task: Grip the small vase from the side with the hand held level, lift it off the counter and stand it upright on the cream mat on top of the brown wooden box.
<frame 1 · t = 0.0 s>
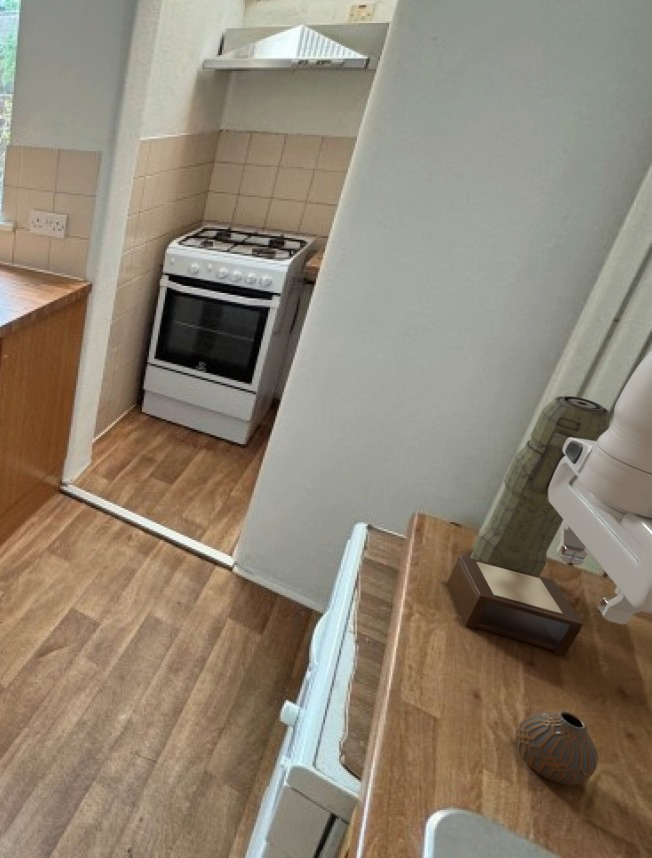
hand: (587, 586, 67), 30 cm above the countertop, tool pointing down, fingers open, 8 cm apart
brown wooden box: (500, 619, 99), on the countertop
carved stone statue: (499, 572, 109), on the countertop
vase: (543, 767, 77), on the countertop
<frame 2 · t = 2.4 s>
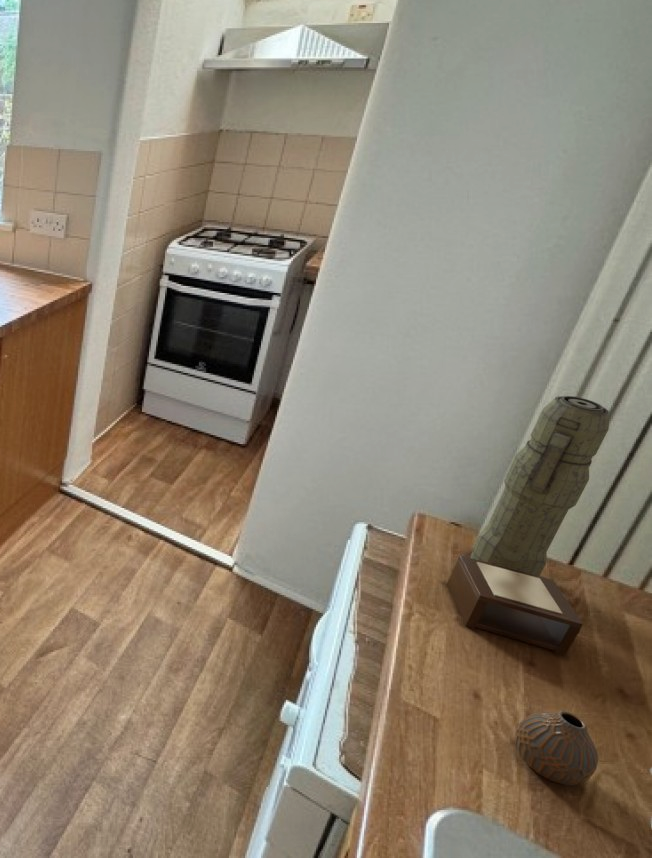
nothing on the countertop moved.
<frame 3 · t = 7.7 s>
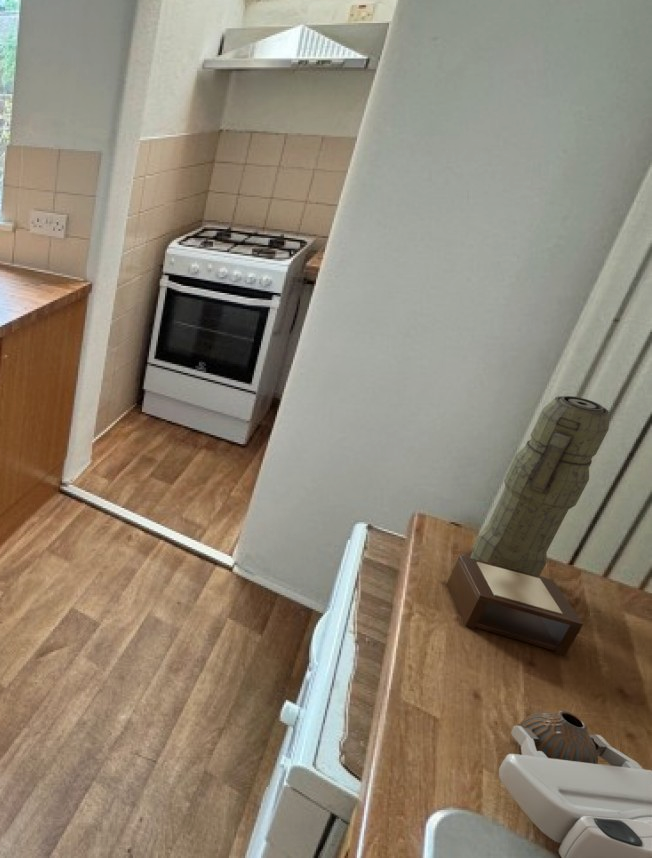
hand: (553, 733, 76), 5 cm above the countertop, tool horizontal, fingers closed on vase, 7 cm apart
vase: (543, 767, 77), on the countertop, touching gripper
everything else where it was.
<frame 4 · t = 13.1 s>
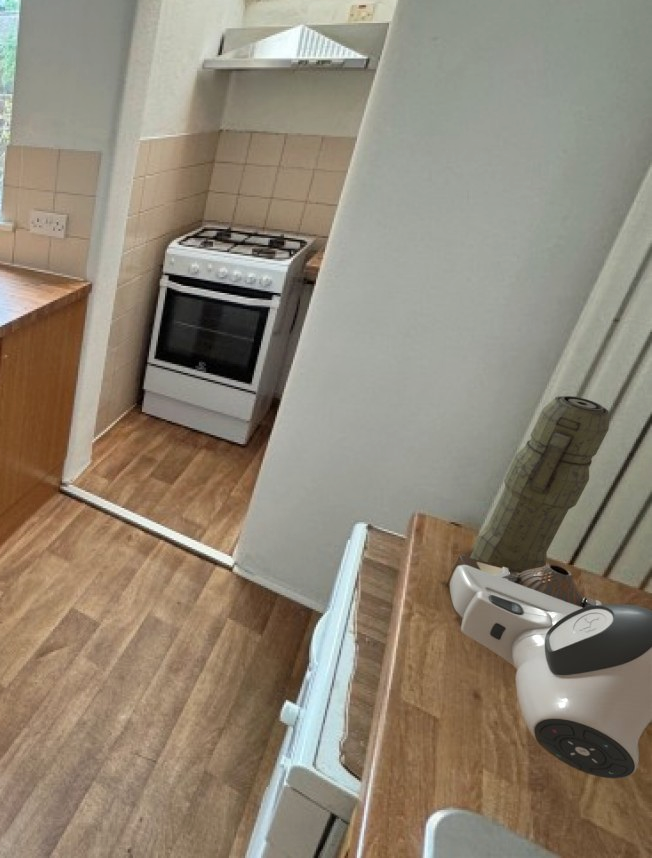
hand: (547, 586, 83), 17 cm above the countertop, tool horizontal, fingers closed on vase, 7 cm apart
vase: (533, 618, 85), point 12 cm above the countertop, touching gripper
everything else where it was.
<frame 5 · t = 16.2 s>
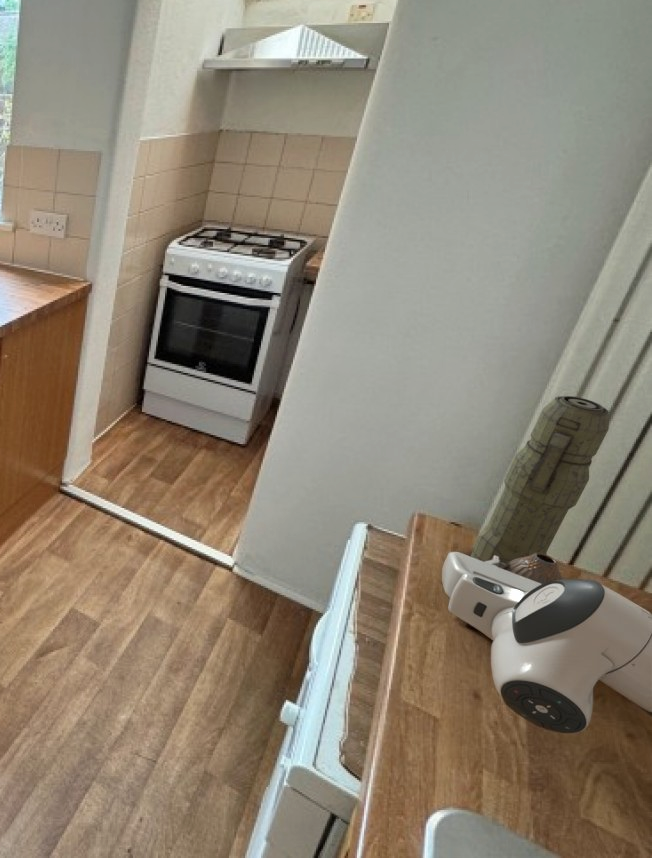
hand: (534, 574, 90), 13 cm above the countertop, tool horizontal, fingers closed on vase, 7 cm apart
vase: (521, 603, 92), point 8 cm above the countertop, touching gripper
everything else where it was.
when the fingers open (12 cm above the countertop, at t = 18.8 s): vase stays where it is, resting on brown wooden box.
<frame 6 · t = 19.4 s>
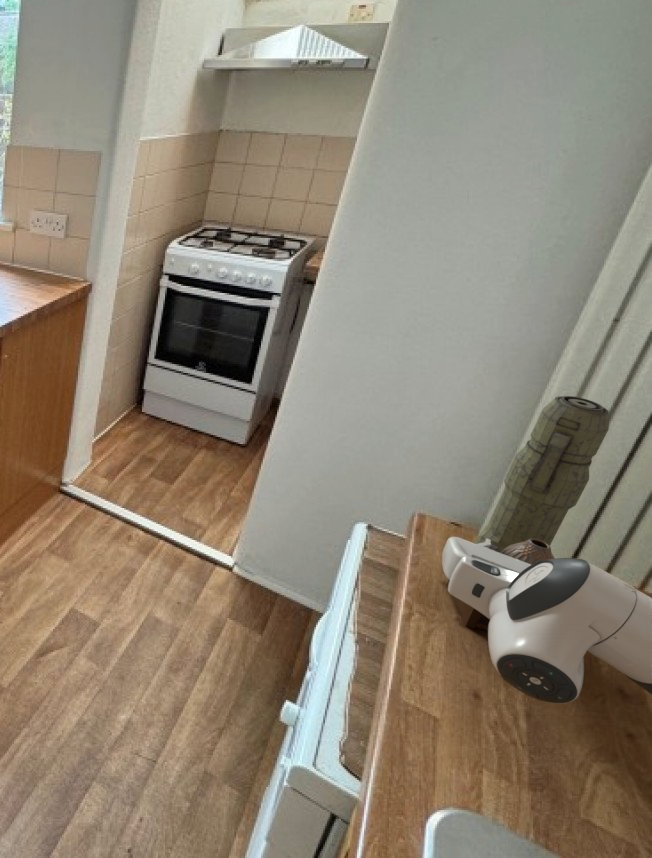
hand: (530, 558, 95), 12 cm above the countertop, tool horizontal, fingers open, 8 cm apart
vase: (517, 587, 96), point 7 cm above the countertop, touching brown wooden box
everything else where it was.
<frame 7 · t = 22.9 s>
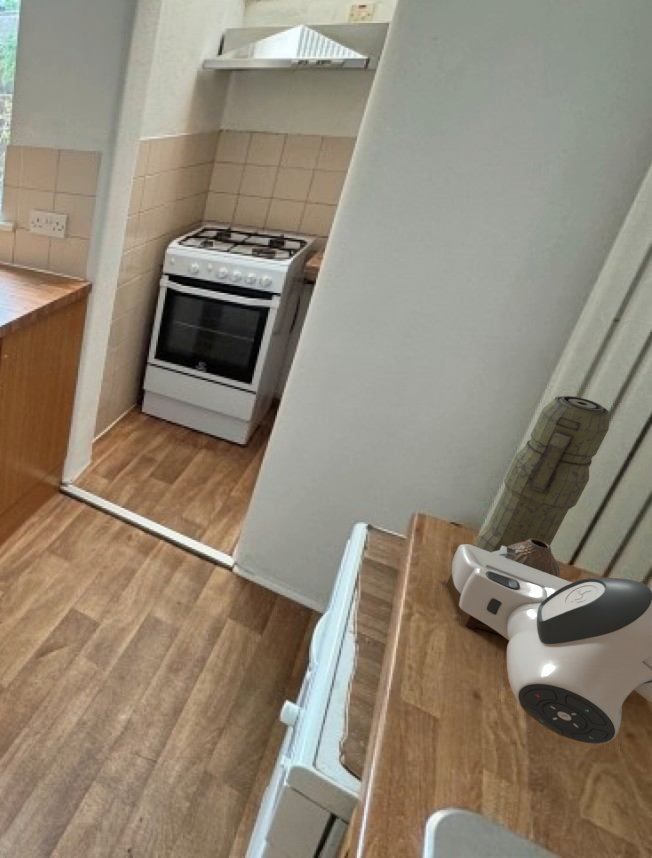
hand: (552, 568, 84), 19 cm above the countertop, tool horizontal, fingers open, 8 cm apart
nothing on the countertop moved.
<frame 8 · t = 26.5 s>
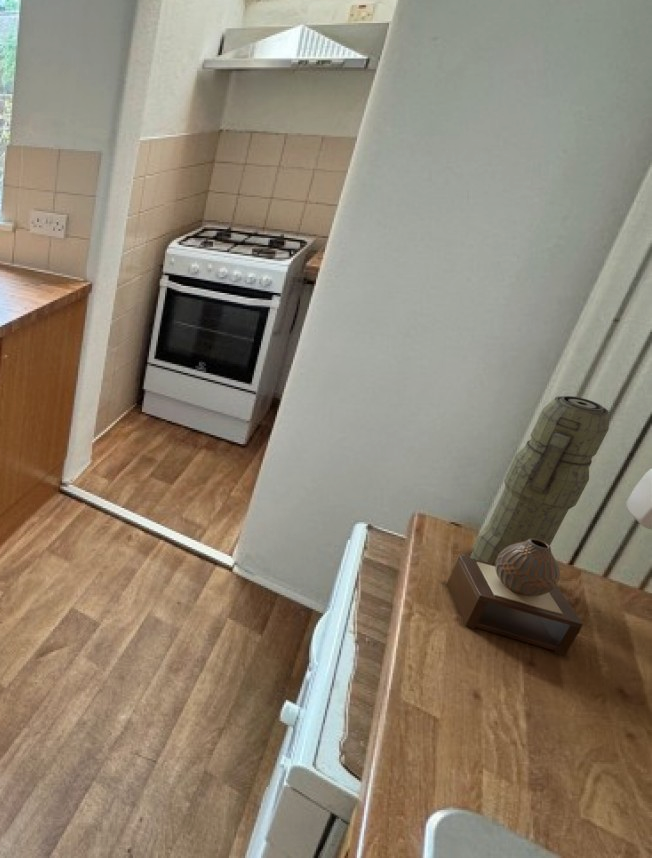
nothing on the countertop moved.
at the end: vase 0.1 cm off-centre on the brown wooden box, point 7.0 cm above the brown wooden box's base; vase tilted 0°; the gripper is holding nothing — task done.
